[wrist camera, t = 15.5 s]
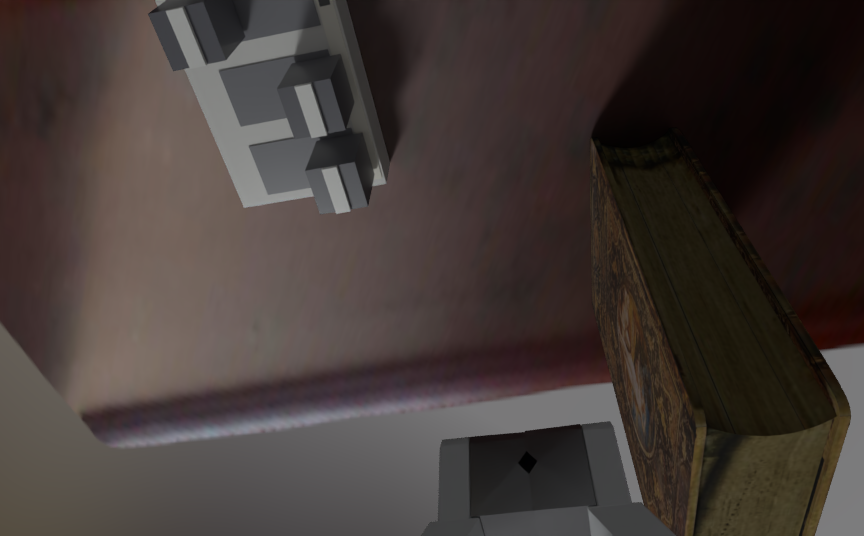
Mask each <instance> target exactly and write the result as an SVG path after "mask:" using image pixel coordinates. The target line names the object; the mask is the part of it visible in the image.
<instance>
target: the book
mask: <svg viewBox="0 0 864 536" xmlns="http://www.w3.org/2000/svg"><path fill="white" fill-rule="evenodd" d="M590 199H591V256H592V305H593V309H594V313H595V317H596V321H597V325H598V328H599V332H600V336H601V340H602V344H603V348H604V352H605V356H606V359H607V363H608V367H609V371H610V375H611V379H612V383H613V386H614V391H615V394H616V398H617V402H618V406H619V410H620V414H621V418H622V422H623V425H624V429H625V433H626V437H627V441H628V445H629V449H630V453H631V456H632V460H633V464H634V468H635V472H636V476H637V480H638V484H639V487H640V491H641V495H642V499H643V503H644V506H645V507H646V508H647V509H648V510H650V511H651V512H652V513H653V514H654V515H655V516H656V517H657V518H658V519H659V520H660V521H661V522H662V523H663V524H664V525H665V526H666V527H668V528H669V529H670V530H671V531H672V532H673V533H674V534H675V535H676V536H815V533H816V530H817V526H818V523H819V520H820V517H821V514H822V510H823V507H824V504H825V500H826V498H827V494H828V491H829V488H830V485H831V481H832V478H833V475H834V472H835V469H836V465H837V462H838V459H839V456H840V453H841V450H842V446H843V443H844V440H845V437H846V433H847V430H848V427H849V425H850V420H851V411H850V406H849V403H848V400H847V397H846V395H845V394H844V391H843V390H842V388H841V386H840V384H839V382H838V380H837V379H836V377H835V375H834V374H833V372H832V370H831V369H830V367H829V365H828V364H827V362H826V360H825V359H824V357H823V356H822V354H821V353H820V351H819V349H818V348H817V346H816V345H815V343H814V341H813V340H812V338H811V337H810V335H809V334H808V332H807V330H806V329H805V327H804V326H803V324H802V322H801V321H800V319H799V318H798V316H797V315H796V313H795V311H794V310H793V308H792V307H791V305H790V303H789V302H788V300H787V299H786V297H785V295H784V294H783V292H782V291H781V289H780V288H779V286H778V284H777V283H776V281H775V280H774V278H773V276H772V275H771V273H770V272H769V270H768V269H767V267H766V265H765V264H764V262H763V261H762V259H761V257H760V256H759V254H758V253H757V251H756V250H755V248H754V246H753V245H752V243H751V242H750V240H749V238H748V237H747V235H746V234H745V232H744V231H743V229H742V227H741V226H740V224H739V223H738V221H737V219H736V218H735V216H734V215H733V213H732V212H731V210H730V208H729V207H728V205H727V204H726V202H725V200H724V199H723V197H722V196H721V194H720V193H719V191H718V189H717V188H716V186H715V185H714V183H713V181H712V180H711V178H710V177H709V175H708V174H707V172H706V170H705V169H704V167H703V166H702V164H701V162H700V161H699V159H698V158H697V156H696V155H695V153H694V151H693V150H692V148H691V147H690V145H689V143H688V142H687V140H686V139H685V137H684V136H683V134H682V133H681V132H680V130H679V129H678V128H669V129H668V132H667V133H666V134H665V135H663V136H662V137H661V138H659V139H658V140H656V141H654V142H652V143H650V144H647V145H644V146H640V147H634V148H619V147H612V146H608V145H605V144H602V143H600V142H599V140H598V138H597V137H596V138H590Z"/></svg>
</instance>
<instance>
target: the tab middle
mask: <svg viewBox="0 0 864 536" xmlns="http://www.w3.org/2000/svg"><path fill="white" fill-rule="evenodd" d="M277 91H278V94H279V97H280V100H281V103H282V105H283V108H284V111H285V114H286V117H287V119H288V122H289V125H290V128H291V131H292V134H293V136H294V139H300V138H306V137H311V138H316V137H321V136H326V135H327V134H328V133H333V132H339V131H344V130H346V128H347V125H348V122H349V118H350V115H351V112H352V109H353V106H354V103H355V102H354V98H353V95H352V91H351V88H350V84H349V81H348V77H347V74H346V70H345V67H344V63H343V60H342V56H341V54H337V55H332V56H327V57H322V58H317V59H312V60H307V61H302V62H297V63H292V64H291V65H290V67H289V69H288V71H287V72H286V74H285V76H284V77H283V79H282V81H281V83H280V84H279V86H278V88H277Z"/></svg>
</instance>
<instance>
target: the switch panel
mask: <svg viewBox="0 0 864 536" xmlns="http://www.w3.org/2000/svg"><path fill="white" fill-rule="evenodd" d="M155 1H156V4H157V6H159V5H161V4H162V3H163V2H165V1H166V0H155ZM232 1H233V4H234V7H235V9H236V12H237V15H238V18H239V20H240V23H241V26H242V29H243V31H244V34H245V38H244V39H243V40H242V42H241V43H240V44H239V45H238V46H237V48H236V49H235V50H234V51H233V52H232V54H231V55H230V56H229V57H228V59H227V60H225V61H220V62H216V63H211V64H207V65H206V66H203V67H198V68H193V69H190V68H186V69H185V71H186V74H187V76H188V78H189V80H190V83H191V85H192V87H193V90H194V92H195V94H196V97H197V99H198V101H199V104H200V106H201V108H202V111H203V113H204V115H205V118H206V120H207V122H208V125H209V127H210V129H211V132H212V134H213V136H214V139H215V141H216V143H217V146H218V148H219V150H220V153H221V155H222V157H223V160H224V162H225V164H226V167H227V169H228V171H229V174H230V176H231V178H232V181H233V183H234V185H235V188H236V190H237V192H238V195H239V197H240V199H241V202H242V204H243V206H244V208H247V207H252V206H258V205H264V204H270V203H276V202H282V201H288V200H294V199H299V198H305V197H311V196H314V195H313V192H312V190H311V187H310V184H309V181H308V178H307V176H306V173H305V169H306V167H307V164H308V161H309V159H310V156H311V154H312V151H313V149H314V146H315V143H316V141H318V140H324V139H329V138H335V137H340V136H346V135H351V134H357V133H362V132H363V136H364V139H365V143H366V146H367V150H368V153H369V157H370V160H371V164H372V167H373V171H374V174H375V175H374V180H373V185H372V186H376V185H382V184H386V183H387V177H388V172H389V166H390V161H389V157H388V153H387V149H386V146H385V142H384V138H383V135H382V131H381V127H380V124H379V120H378V116H377V112H376V109H375V105H374V101H373V98H372V94H371V90H370V86H369V83H368V79H367V75H366V72H365V68H364V64H363V61H362V57H361V53H360V49H359V46H358V42H357V38H356V35H355V31H354V27H353V23H352V20H351V16H350V12H349V9H348V5H347V1H346V0H232ZM337 54H341V56H342V60H343V63H344V67H345V70H346V74H347V77H348V81H349V84H350V88H351V91H352V95H353V98H354V102H355V103H354V106H353V109H352V112H351V115H350V118H349V122H348V125H347V128H346V130H344V131H339V132H333V133H328V134H327V135H326V136H321V137H316V138H311V137H306V138H300V139H294V136H293V134H292V131H291V128H290V125H289V122H288V119H287V117H286V114H285V111H284V108H283V105H282V103H281V100H280V97H279V94H278V91H277V88H278V86H279V84H280V83H281V81H282V79H283V77H284V76H285V74H286V72H287V71H288V69H289V67H290V65H291V64H292V63H297V62H302V61H307V60H312V59H317V58H322V57H327V56H332V55H337Z"/></svg>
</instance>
